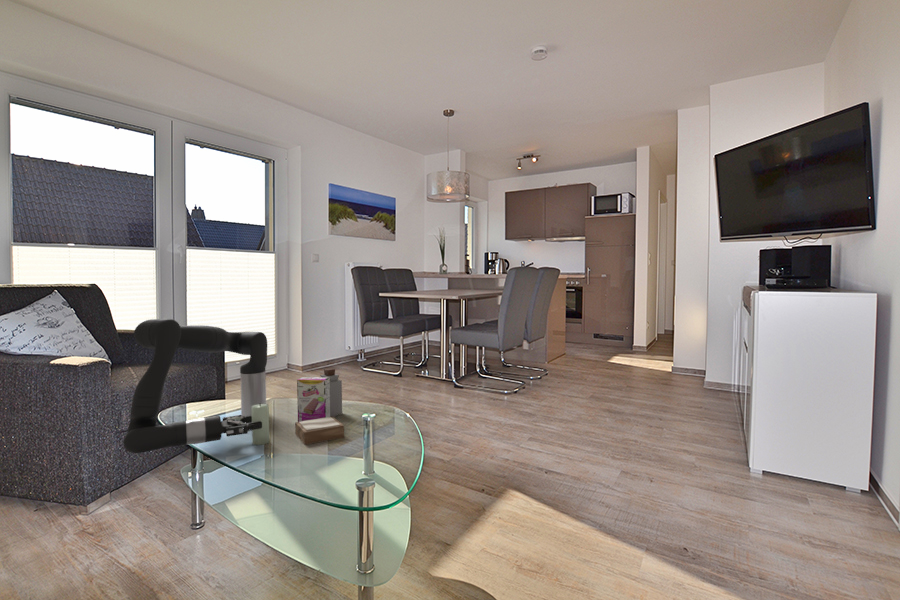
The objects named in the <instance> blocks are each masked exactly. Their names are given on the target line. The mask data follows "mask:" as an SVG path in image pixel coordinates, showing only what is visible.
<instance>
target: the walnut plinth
mask: <svg viewBox="0 0 900 600" xmlns="http://www.w3.org/2000/svg"><path fill="white" fill-rule="evenodd" d="M294 425H295V426H294V428H295V430H294V432H295V435H296V437H297V438H298V439H299V440H300V441H301V442H302V444H304V446H305V445H311V444H315V443H321V442H327V441H331V440H332V441H333V440H337V439H343V438H345V425H344V424H343V423H342V422H340V421H339V420H338V419H336V418H335V416H331V417H325V418H319V419H313V420H307V421H300V422H298V421H296V422H294Z"/></svg>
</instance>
